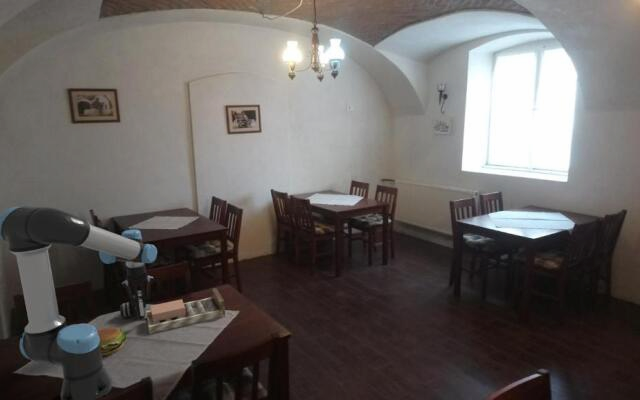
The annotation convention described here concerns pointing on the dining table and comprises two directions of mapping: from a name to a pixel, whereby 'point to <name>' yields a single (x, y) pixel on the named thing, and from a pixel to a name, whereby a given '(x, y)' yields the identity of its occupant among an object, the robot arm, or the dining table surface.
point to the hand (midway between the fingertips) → (142, 314)
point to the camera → (131, 308)
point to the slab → (167, 310)
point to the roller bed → (184, 320)
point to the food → (111, 340)
